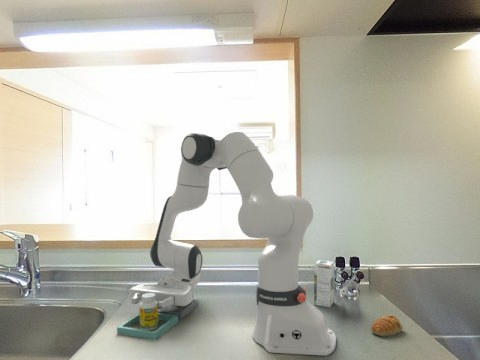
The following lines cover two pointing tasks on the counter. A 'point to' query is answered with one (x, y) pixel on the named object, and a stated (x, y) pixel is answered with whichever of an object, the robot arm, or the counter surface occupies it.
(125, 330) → the bin
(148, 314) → the supplement bottle
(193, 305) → the bin
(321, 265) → the syrup box
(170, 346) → the counter surface
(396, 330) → the pastry
